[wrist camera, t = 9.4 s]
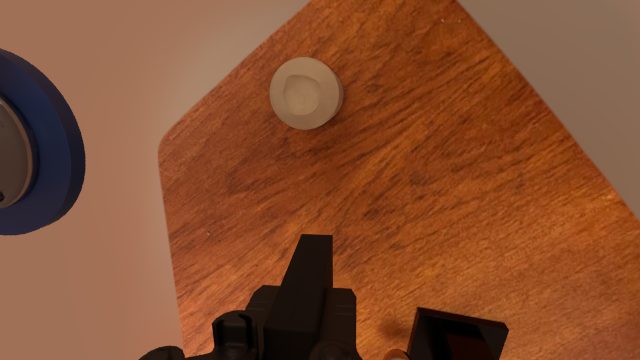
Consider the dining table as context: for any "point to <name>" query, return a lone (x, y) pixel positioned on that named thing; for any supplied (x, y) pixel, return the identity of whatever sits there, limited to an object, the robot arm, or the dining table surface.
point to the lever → (396, 355)
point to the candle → (305, 93)
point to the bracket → (455, 337)
